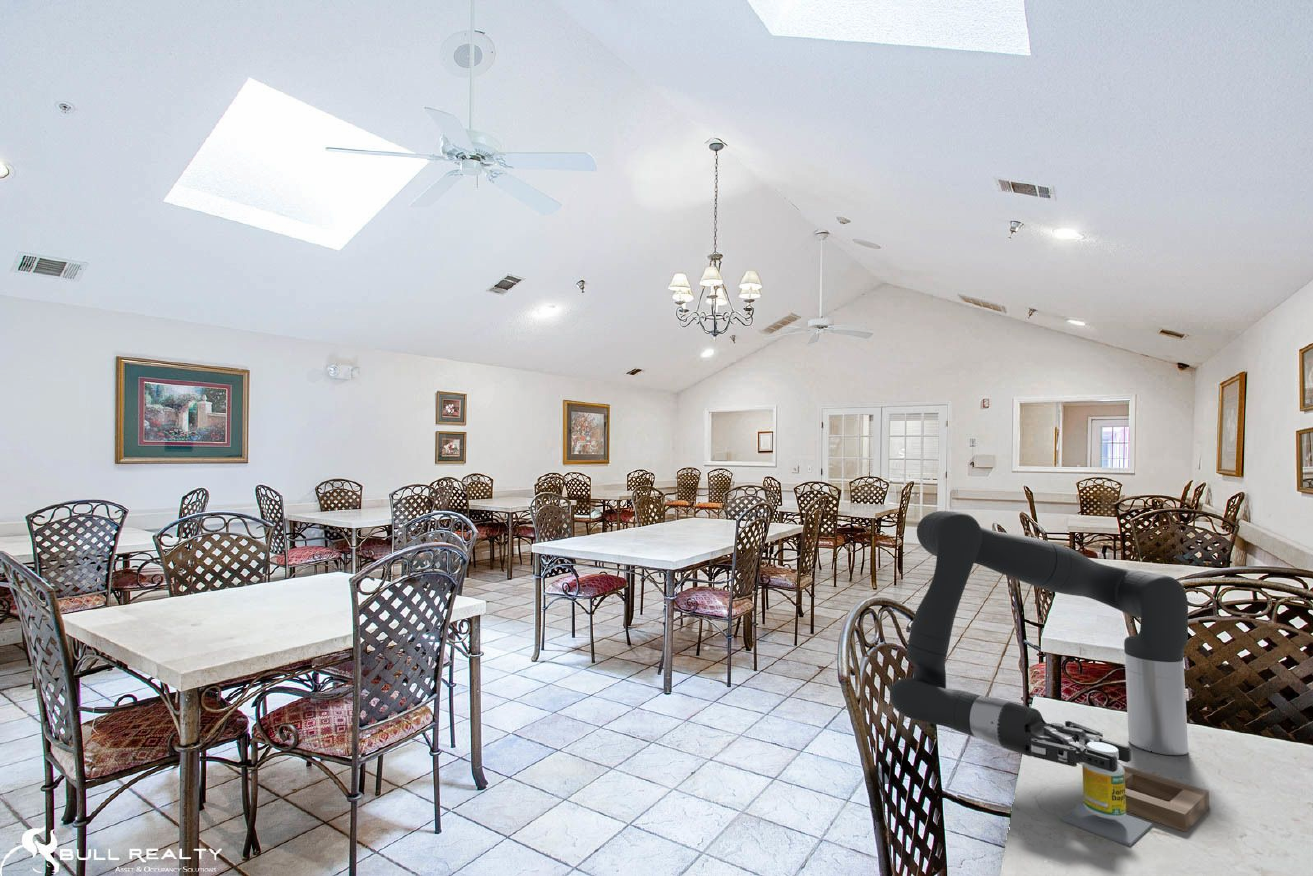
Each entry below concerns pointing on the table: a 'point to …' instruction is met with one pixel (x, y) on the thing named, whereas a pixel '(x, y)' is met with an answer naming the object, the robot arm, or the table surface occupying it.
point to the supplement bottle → (1104, 786)
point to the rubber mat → (1108, 825)
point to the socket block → (1176, 813)
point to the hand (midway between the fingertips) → (1122, 759)
